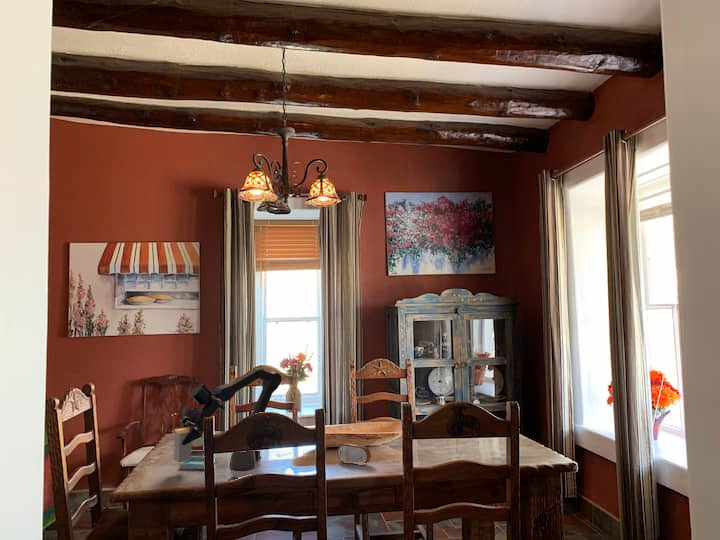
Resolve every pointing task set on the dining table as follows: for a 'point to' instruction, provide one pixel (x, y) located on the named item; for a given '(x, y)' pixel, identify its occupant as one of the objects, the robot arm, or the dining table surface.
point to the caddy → (180, 450)
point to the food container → (197, 444)
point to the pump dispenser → (242, 463)
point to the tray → (193, 463)
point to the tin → (353, 453)
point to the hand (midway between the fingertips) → (179, 443)
